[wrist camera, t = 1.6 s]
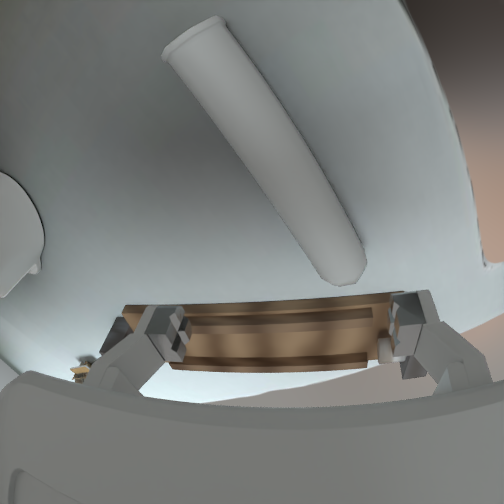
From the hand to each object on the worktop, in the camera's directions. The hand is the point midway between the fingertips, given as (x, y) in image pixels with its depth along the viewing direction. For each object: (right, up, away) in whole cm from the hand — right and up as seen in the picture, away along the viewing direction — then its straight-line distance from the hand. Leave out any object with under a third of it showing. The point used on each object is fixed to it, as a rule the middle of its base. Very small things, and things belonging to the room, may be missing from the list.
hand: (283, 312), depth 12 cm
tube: (+2, +10, +14) cm, 18 cm away
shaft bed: (0, -8, +28) cm, 29 cm away
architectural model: (-33, -19, +43) cm, 57 cm away
